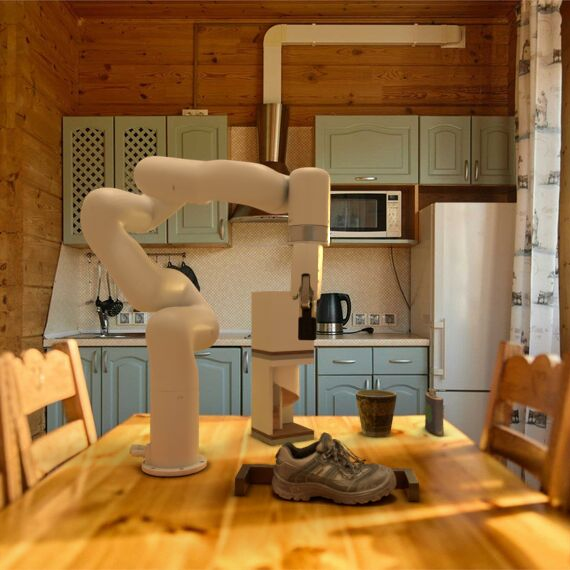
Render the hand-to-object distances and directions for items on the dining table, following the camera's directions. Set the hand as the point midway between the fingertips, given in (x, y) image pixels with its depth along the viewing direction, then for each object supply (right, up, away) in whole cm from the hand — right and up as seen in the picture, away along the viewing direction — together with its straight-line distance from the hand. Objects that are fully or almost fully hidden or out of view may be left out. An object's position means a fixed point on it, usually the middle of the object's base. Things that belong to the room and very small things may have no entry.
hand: (307, 339), depth 97 cm
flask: (+33, -27, +38) cm, 58 cm away
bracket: (+3, -26, -3) cm, 26 cm away
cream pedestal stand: (-5, -27, +33) cm, 43 cm away
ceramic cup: (+18, -27, +35) cm, 47 cm away
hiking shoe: (+4, -26, -6) cm, 27 cm away
